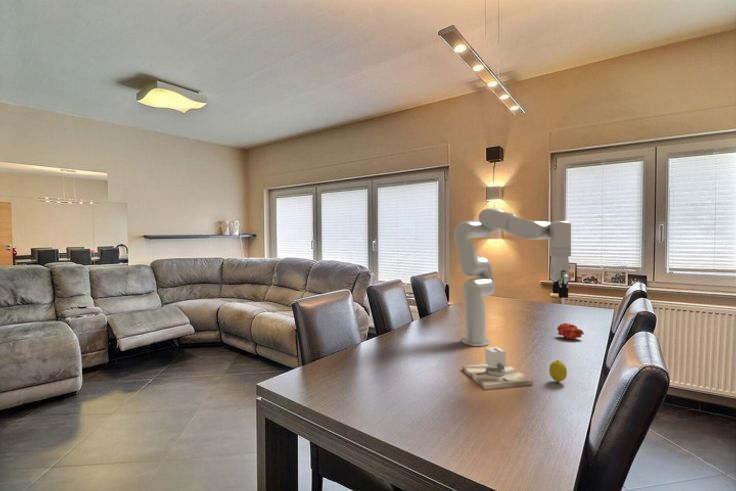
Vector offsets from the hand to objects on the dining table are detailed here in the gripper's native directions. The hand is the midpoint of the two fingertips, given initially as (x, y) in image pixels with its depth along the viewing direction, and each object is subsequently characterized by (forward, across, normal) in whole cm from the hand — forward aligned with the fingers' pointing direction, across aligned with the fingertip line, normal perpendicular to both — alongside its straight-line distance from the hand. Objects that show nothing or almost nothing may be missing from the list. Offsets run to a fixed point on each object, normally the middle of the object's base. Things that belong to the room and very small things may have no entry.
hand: (560, 295), depth 139 cm
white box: (+24, +17, -25) cm, 39 cm away
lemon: (+29, +16, -4) cm, 33 cm away
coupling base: (+28, +16, -26) cm, 42 cm away
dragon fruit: (+29, -42, +14) cm, 53 cm away
